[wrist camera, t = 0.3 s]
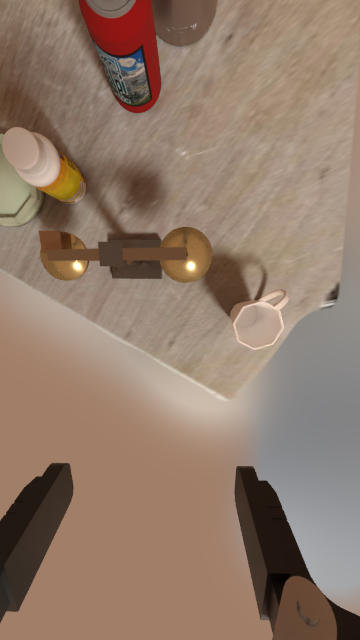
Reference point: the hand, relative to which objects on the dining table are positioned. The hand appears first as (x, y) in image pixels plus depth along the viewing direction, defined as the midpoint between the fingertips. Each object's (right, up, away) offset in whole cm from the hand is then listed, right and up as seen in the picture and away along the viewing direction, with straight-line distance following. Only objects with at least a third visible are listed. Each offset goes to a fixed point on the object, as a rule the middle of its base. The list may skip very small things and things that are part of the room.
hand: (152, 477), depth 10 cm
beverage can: (-5, +40, +20) cm, 45 cm away
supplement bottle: (-16, +28, +23) cm, 40 cm away
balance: (-6, +17, +25) cm, 31 cm away
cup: (+13, +10, +27) cm, 31 cm away
